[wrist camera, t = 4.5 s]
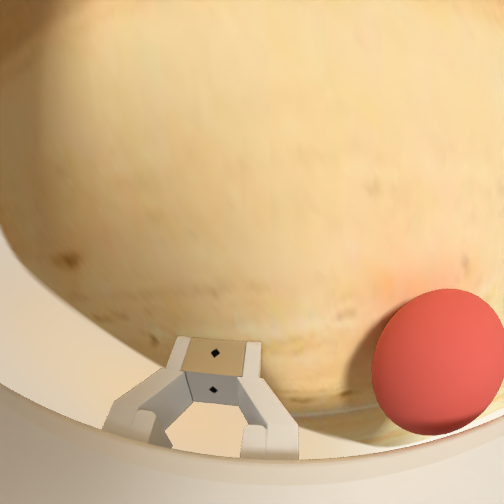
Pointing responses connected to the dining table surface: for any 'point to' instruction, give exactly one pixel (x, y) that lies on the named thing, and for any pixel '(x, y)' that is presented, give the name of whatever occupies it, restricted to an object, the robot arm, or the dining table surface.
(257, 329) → the dining table surface
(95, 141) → the dining table surface
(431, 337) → the ball
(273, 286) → the dining table surface
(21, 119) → the dining table surface
